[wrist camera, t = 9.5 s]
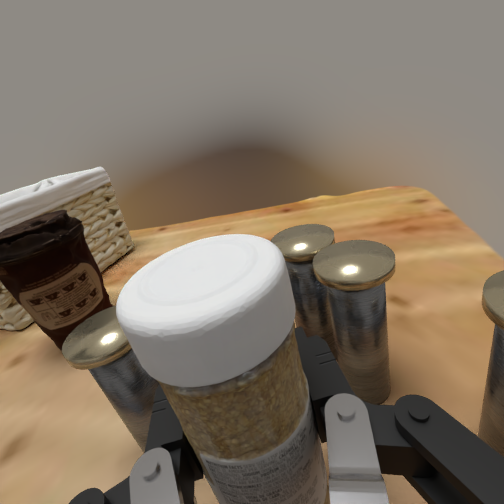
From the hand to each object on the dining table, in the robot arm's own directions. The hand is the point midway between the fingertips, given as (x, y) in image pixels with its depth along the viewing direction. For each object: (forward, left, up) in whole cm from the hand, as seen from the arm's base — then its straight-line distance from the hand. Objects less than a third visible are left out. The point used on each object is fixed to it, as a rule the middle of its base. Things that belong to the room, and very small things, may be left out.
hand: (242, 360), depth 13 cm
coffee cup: (-24, -5, -8) cm, 26 cm away
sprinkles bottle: (+2, -1, -7) cm, 8 cm away
